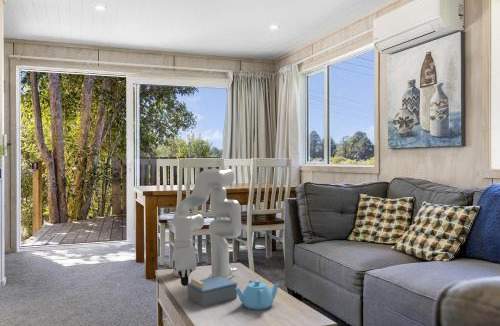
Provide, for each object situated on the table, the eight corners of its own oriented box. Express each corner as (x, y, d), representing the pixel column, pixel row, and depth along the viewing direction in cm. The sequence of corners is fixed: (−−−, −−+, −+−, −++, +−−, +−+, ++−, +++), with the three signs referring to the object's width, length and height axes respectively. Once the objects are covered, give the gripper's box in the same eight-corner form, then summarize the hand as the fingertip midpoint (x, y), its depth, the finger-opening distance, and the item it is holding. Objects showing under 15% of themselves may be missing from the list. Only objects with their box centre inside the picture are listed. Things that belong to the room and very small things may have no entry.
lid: (220, 277, 204) (220, 270, 204) (236, 284, 192) (236, 277, 192) (187, 284, 193) (187, 277, 193) (203, 292, 181) (202, 285, 181)
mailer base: (220, 290, 204) (220, 278, 204) (236, 298, 192) (236, 285, 192) (187, 298, 193) (187, 285, 193) (203, 306, 182) (202, 293, 182)
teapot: (233, 307, 180) (232, 283, 180) (250, 297, 193) (249, 274, 193) (264, 313, 173) (264, 288, 172) (280, 302, 186) (279, 278, 186)
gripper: (194, 240, 191) (195, 280, 191) (164, 244, 182) (165, 286, 182) (203, 242, 185) (203, 284, 185) (172, 247, 176) (173, 290, 176)
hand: (184, 285), depth 184 cm, fingers closed
